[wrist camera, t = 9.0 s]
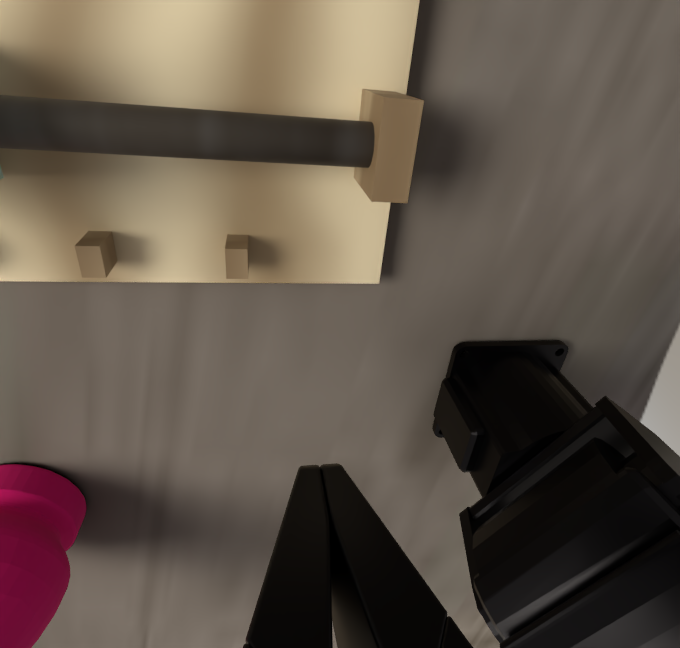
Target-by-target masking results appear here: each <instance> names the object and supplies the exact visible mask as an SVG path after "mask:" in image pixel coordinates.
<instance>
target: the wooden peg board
mask: <svg viewBox="0 0 680 648" xmlns="http://www.w3.org/2000/svg"><path fill="white" fill-rule="evenodd" d="M419 1H420V0H0V166H1V169H2V173H3V176H4V178H2V179H0V281H47V282H200V283H353V284H379V280H380V273H381V266H382V259H383V252H384V245H385V238H386V231H387V224H388V217H389V210H390V203H407V202H408V196H409V190H410V184H411V178H412V171H413V165H414V159H415V153H416V147H417V141H418V135H419V129H420V122H421V116H422V110H423V104H424V100H421V99H418V98H414V97H411V96H408V95H406V92H407V85H408V78H409V71H410V64H411V57H412V50H413V43H414V36H415V29H416V22H417V15H418V8H419Z"/></svg>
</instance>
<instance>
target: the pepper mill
mask: <svg viewBox="0 0 680 648" xmlns="http://www.w3.org/2000/svg"><path fill="white" fill-rule="evenodd" d="M86 509H87V508H86V502H85V498H84V496H83V494H82V493H81V492H80V490H79V489H78V488H77V487H76V486H75V485H74V484H73V483H71V482H70V481H69V480H68V479H66V478H64V477H62V476H60V475H58V474H56V473H54V472H52V471H50V470H46V469H43V468H39V467H35V466H29V465H20V464H7V465H0V648H31V647H32V646H33V645H34V644H35V642H36V641H37V640H38V639H39V637H40V636H41V634H42V633H43V631H44V630H45V628H46V627H47V625H48V624H49V622H50V621H51V619H52V618H53V616H54V614H55V613H56V611H57V609H58V607H59V605H60V602H61V600H62V598H63V596H64V594H65V592H66V590H67V587H68V583H69V579H70V565H69V561H68V558H67V555H66V552H65V551H67V550H68V549H69V548H70V547H71V546H72V544H73V543H74V542H75V539H76V537H77V534H78V532H79V529H80V527H81V524H82V522H83V519H84V517H85V514H86Z"/></svg>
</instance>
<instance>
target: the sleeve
mask: <svg viewBox="0 0 680 648" xmlns="http://www.w3.org/2000/svg"><path fill="white" fill-rule="evenodd" d="M2 178H4V176H3V173H2V169H1V166H0V179H2Z"/></svg>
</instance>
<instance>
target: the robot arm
mask: <svg viewBox="0 0 680 648" xmlns="http://www.w3.org/2000/svg"><path fill="white" fill-rule="evenodd" d="M558 349H559V350H558ZM465 350H466V351H465ZM462 351H465V352H464V353H463V354H461V352H462ZM567 353H568V347H567V346H566V345H565V344H564V343H563V342H562V341H559V340H557V341H502V342H462V343H459V344H457V345H456V346H455V347H454V349H453V351H452V355H451V359H450V362H449V366H448V370H447V374H446V378H445V379H444V380H443V381H442V384H441V388H440V391H439V395H438V399H437V403H436V407H435V411H434V417H435V420H434V423H433V431H434V433H435V435H436V436H437V437H441V438H442V437H444V438H445V440H446V442H447V444H448V446H449V448H450V450H451V453H452V455H453V457H454V459H455V461H456V463H457V465H458V467H459V469H460V470H461V471H462V472H470V474H471V476H472V478H473V480H474V482H475V484H476V486H477V488H478V490H479V492H480V494H481V496H482V499H480V500H479V501H478V502H477V503H475V504H474V505H473V506H472V507H467V508H466V509H465V510H463V511H462V512H461V513H460V514H459V516H460V521H461V527H462V533H463V538H464V544H465V550H466V555H467V561H468V567H469V572H470V578H471V583H472V589H473V593H474V597H475V600H476V604H477V608H478V610H479V612H480V614H481V615H482V616H483V618H484V620H485V622H486V624H487V625H488V627H489V628H490V630H491V631H492V633H493V635H494V636H495V637H496V639H497V640H498V641H499V642H500V648H680V457H679V456H678V455H677V454H676V453H675V452H674V451H673V450H672V449H671V448H670V447H669V446H667V445H666V444H665V443H664V442H663V441H662V440H661V439H660V438H659V437H658V436H657V435H656V434H654V433H653V432H652V431H651V430H649V429H648V428H647V427H645V426H644V425H643V424H641V423H640V422H639V421H638V420H636V419H635V418H634V417H632V416H631V415H630V414H629V413H627V412H626V411H625V410H623V409H622V408H621V407H619V406H618V405H617V404H616V403H614V402H613V401H612V400H610V399H609V398H608V397H606V396H604V397H603V398H602V399H601V400H599V401H598V402H597V403H596V404H595V405H596V407H594V408H593V407H592V406H591V405H590V404H589V403H588V402H587V400H586V399H585V398H584V397H583V396H582V395H581V394H580V393H579V392H578V391H577V390H576V389H575V388H574V387H573V385H572V384H571V383H570V382H569V381H568V380H567V379H566V378H565V377H564V376H563V375H562V374H561V373H560V369H561V367H562V365H563V362H564V360H565V357H566V355H567ZM332 621H333V627H334V632H335V637H336V642H337V647H338V648H473V647H472V646H471V644H470V643H469V642H468V640H467V639H466V638H465V636H464V635H463V633H462V632H461V631H460V629H459V628H458V626H457V625H456V624H455V622H454V621H453V619H452V618H451V617H450V616H448V617H447V611H446V610H445V609H444V607H443V606H442V604H441V603H440V602H439V600H438V599H437V598H436V596H435V595H434V593H433V592H432V591H431V589H430V588H429V586H428V585H427V584H426V582H425V581H424V579H423V578H422V577H421V575H420V574H419V572H418V571H417V570H416V568H415V567H414V566H413V564H412V563H411V561H410V560H409V559H408V557H407V556H406V554H405V553H404V552H403V550H402V549H401V547H400V546H399V545H398V543H397V542H396V540H395V539H394V538H393V536H392V535H391V534H390V532H389V531H388V529H387V528H386V527H385V525H384V524H383V522H382V521H381V520H380V518H379V517H378V515H377V514H376V513H375V511H374V510H373V509H372V507H371V506H370V504H369V503H368V502H367V500H366V499H365V497H364V496H363V495H362V493H361V492H360V490H359V489H358V488H357V486H356V485H355V483H354V482H353V481H352V479H351V478H350V477H349V475H348V474H347V472H346V471H345V470H344V468H343V467H342V466H341V465H340V464H323V465H321V466H320V467H319V466H318V465H307V466H301V467H300V468H299V469H298V472H297V475H296V479H295V482H294V485H293V488H292V492H291V495H290V498H289V501H288V504H287V508H286V511H285V514H284V517H283V521H282V524H281V527H280V530H279V534H278V537H277V540H276V543H275V546H274V550H273V553H272V556H271V559H270V563H269V566H268V569H267V572H266V575H265V579H264V582H263V585H262V588H261V592H260V595H259V598H258V601H257V604H256V608H255V611H254V614H253V617H252V621H251V624H250V627H249V630H248V634H247V637H246V644H244V646H243V648H332Z"/></svg>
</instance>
